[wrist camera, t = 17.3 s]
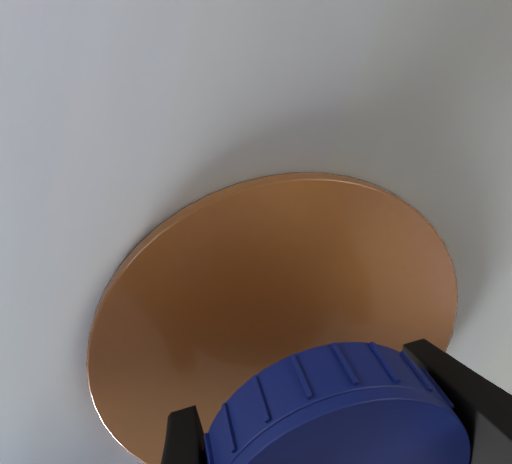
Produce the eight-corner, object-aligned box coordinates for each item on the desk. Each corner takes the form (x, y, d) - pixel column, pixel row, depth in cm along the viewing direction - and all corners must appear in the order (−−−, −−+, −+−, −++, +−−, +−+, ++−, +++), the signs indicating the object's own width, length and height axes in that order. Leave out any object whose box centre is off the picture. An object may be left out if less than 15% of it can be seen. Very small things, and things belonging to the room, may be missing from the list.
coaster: (412, 438, 17) (419, 449, 16) (113, 499, 14) (112, 514, 14) (488, 161, 12) (501, 167, 12) (54, 184, 10) (50, 192, 9)
